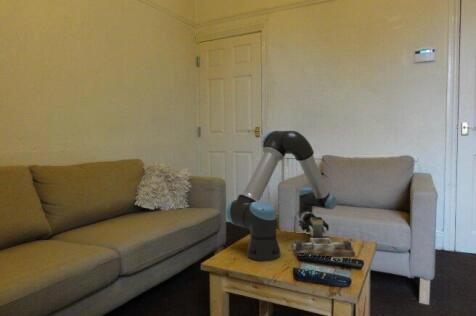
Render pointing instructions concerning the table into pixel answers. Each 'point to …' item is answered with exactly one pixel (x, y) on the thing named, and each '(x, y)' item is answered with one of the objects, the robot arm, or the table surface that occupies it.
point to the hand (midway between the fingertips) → (319, 232)
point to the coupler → (317, 227)
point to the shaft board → (324, 248)
